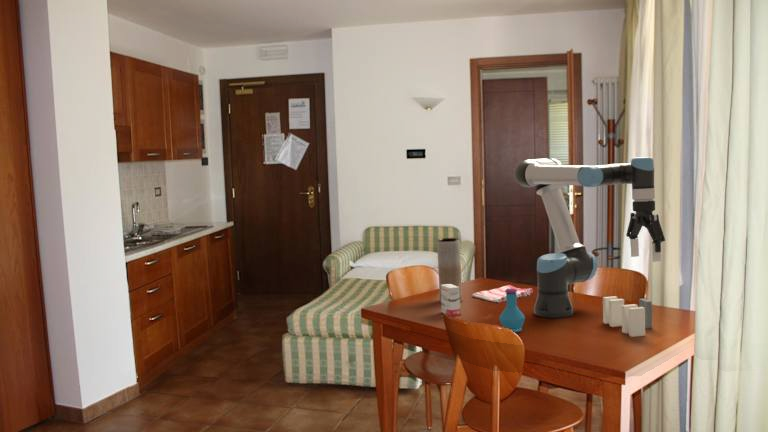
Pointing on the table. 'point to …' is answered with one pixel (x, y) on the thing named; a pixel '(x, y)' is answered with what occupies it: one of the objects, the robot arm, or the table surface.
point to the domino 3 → (647, 311)
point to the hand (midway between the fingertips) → (645, 258)
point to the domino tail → (637, 321)
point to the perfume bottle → (512, 312)
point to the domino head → (607, 308)
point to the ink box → (450, 299)
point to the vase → (449, 263)
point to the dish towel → (501, 294)
